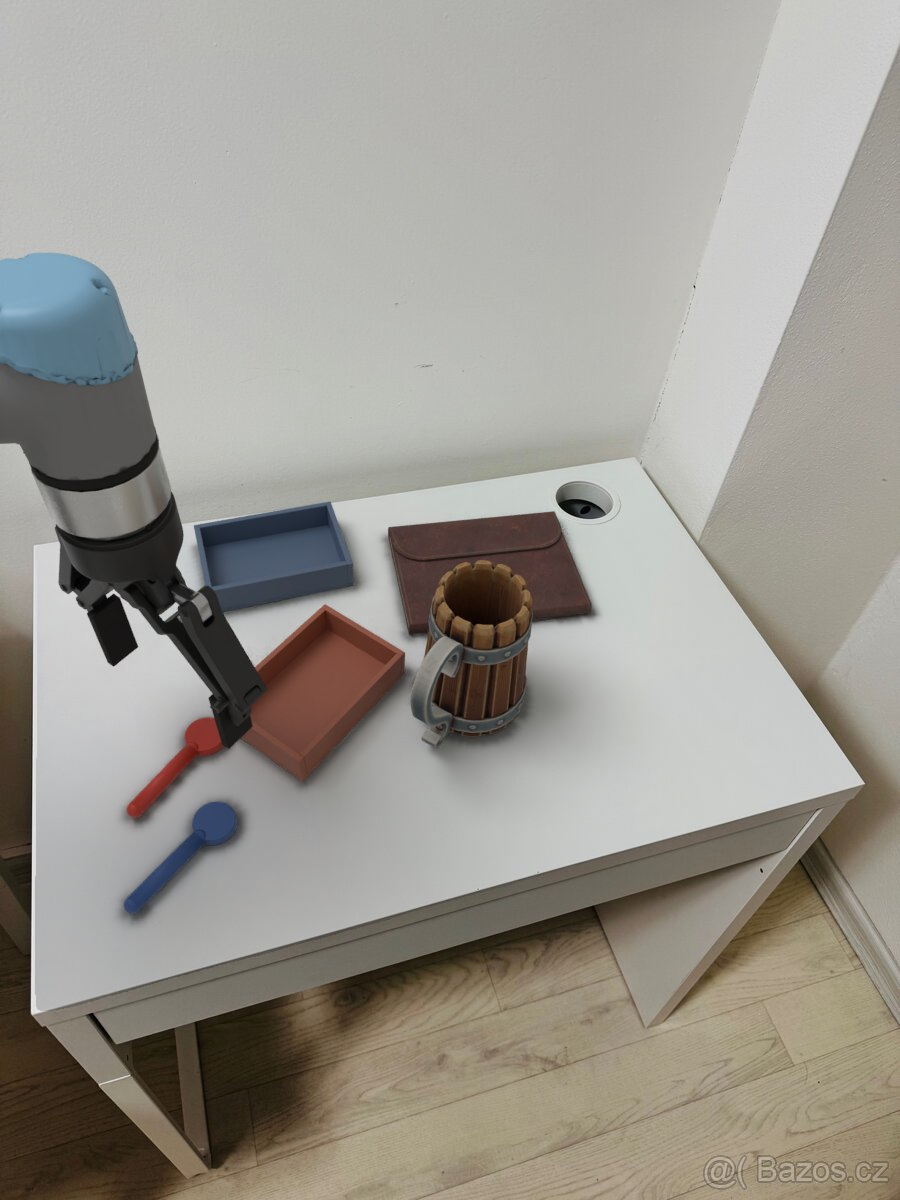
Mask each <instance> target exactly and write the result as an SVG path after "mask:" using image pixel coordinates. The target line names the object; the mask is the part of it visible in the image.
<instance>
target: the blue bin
mask: <svg viewBox="0 0 900 1200" xmlns="http://www.w3.org/2000/svg"><path fill="white" fill-rule="evenodd" d="M193 529H194V535H195V540H196V545H197V550H198V556H199V561H200V565H201V570H202V576H203V581H204V586H205V585H207V586H209V587H211V588H212V589H213V590H214V592H215V593H216V595H217V598H218V601H219V604H220V607H221V610H222V612H223V613H224V612H231V611H235V610H239V609H245V608H249V607H255V606H260V605H265V604H269V603H275V602H279V601H283V600H284V601H285V600H289V599H294V598H299V597H304V596H309V595H314V594H318V593H323V592H329V591H333V590H334V591H335V590H339V589H343V588H349V587H354V567H353V565H354V564H353V561H352V558H351V554H350V552H349V549H348V547H347V544H346V541H345V538H344V535H343V533H342V529H341V527H340V523H339V521H338V519H337V515H336V512H335V510H334V507H333V504H332V501H326V502H318V503H312V504H307V505H300V506H296V507H291V508H285V509H279V510H278V509H277V510H273V511H267V512H262V513H256V514H249V515H243V516H238V517H233V518H227V519H222V520H215V521H210V522H204V523H199V524H194V525H193Z"/></svg>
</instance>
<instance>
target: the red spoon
mask: <svg viewBox="0 0 900 1200" xmlns="http://www.w3.org/2000/svg"><path fill="white" fill-rule="evenodd" d="M184 741H185V745H184V746H183V747H182V748H181V749H180V750H179V751H178V752H177V753H176V754H175V755H174V756H173V757H172V758H171V760H169V762H168V763H167V764H165V766H164V767H163V768H162V769H161V770H160V771H159V772H158V773H156V775H155V776H154V778H153V779H151V780H150V781H149V783H148V784H147V785H146V786H145V787H144V788H143V789H142V790H141V791H140V792H139V793H138V794H137V795H136V796H135V797H134V798H133V799H132V800H131V801H130V802H129V804H128V805H127V807H126V813H127V815H128V816H129V817H130V818H133V819H135V818H139V817H141V816H142V815H143V814H144V813H145V812H146V811H147V810H148V809H149V808H150V806H151V805H153V803H154V802H155V801H156V800H157V799H158V798H159V797H160V796H162V793H164V791H166V789H167V788H168V787H169V786H170V785H171V784H172V783H173V782H174V781H175V780H176V779H177V778H178V777H179V776H180V774H182V773H183V771H184V770H185V769H186V768H187V767H188V766H189V765H190V764H191V763H192V762H193V761H194V760H195V759H196V758H197V757H198V756H199V757H208V756H212V755H214V754H217V753H218V752H219V751H221V750H222V748H223V747H224V746H223V745H222V743H221V739H220V736H219V732H218V729H217V726H216V722H215V719H214V717H208V716H207V717H201V718H198V719H196V720H194V721H193V722H191V723H190V724H189V725H188V726H187V728H186V730H185V733H184Z"/></svg>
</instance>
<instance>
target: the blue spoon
mask: <svg viewBox="0 0 900 1200" xmlns="http://www.w3.org/2000/svg"><path fill="white" fill-rule="evenodd" d="M191 827H192V830H193V831H192V832H191V833H190V834H189V835H188V836H187V837H186V838H185V839H184V840H183V841H182V842H181V843H180V844H179V845H178V846H177V847H176V848H175V849H174V850H173V851H172V852H171V853H170V854H169V855H168V856H167V857H166V858H165V859H164V860H163V861H162V862H161V863H160V864H159V865H158V866H157V867H156V868H155V869H154V870H153V871H152V872H151V873H150V874H149V875H148V876H147V877H146V878H145V879H144V880H143V881H142V882H141V884H139V885H138V886H137V887H136V888H135V889H134V890H133V891H132V892H131V893H130V894H129V895H128V896H127V897H126V898H125V900H124V902H123V908H124V911H125V912H126V913H127V914H132V915H133V914H136V913H138V912H140V911H141V910H142V908H144V907H145V906H146V905H147V904H148V902H149V901H151V899H152V898H154V896H155V895H156V894H157V893H158V892H159V891H160V890H161V889H162V888H163V887H164V886H165V885H166V884H167V883H168V882H169V881H170V880H171V879H172V878H173V877H174V876H175V875H176V874H177V873H178V872H179V870H180V869H182V868H183V866H185V865H186V863H188V861H190V859H192V858H193V856H195V854H196V853H197V852H198V851H199V850H201V848H203V846H204V845H207V846H217V845H221V844H224V843H225V842H227V841H229V839H231V837H233V835H234V834H235V832H236V830H237V827H238V819H237V816H236V812H235V810H234V808H233V807H232V806H231V805H229V804H228V803H226V802H224V801H211V802H208V803H206V804H204V805H202V806H201V807H200V808H199V809H198V810H197V811H196V812H195V814H194V815H193V818H192V823H191Z"/></svg>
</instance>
